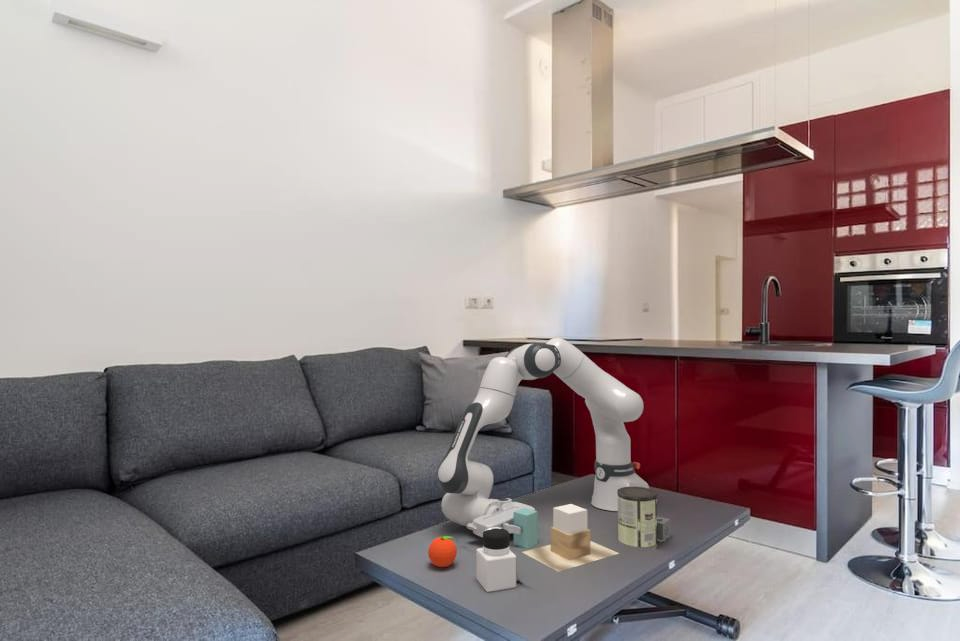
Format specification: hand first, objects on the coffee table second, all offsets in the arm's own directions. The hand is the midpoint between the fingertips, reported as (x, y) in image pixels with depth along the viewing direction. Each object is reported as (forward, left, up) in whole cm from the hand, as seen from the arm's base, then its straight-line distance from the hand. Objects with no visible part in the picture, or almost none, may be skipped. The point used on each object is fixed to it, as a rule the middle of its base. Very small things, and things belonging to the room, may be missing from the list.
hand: (528, 527), depth 149 cm
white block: (-6, +10, +2) cm, 12 cm away
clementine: (+23, -3, -6) cm, 24 cm away
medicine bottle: (+18, +12, -6) cm, 23 cm away
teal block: (0, -1, -5) cm, 5 cm away
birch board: (-6, +10, -6) cm, 13 cm away
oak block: (-6, +10, -4) cm, 12 cm away
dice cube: (-35, +13, -6) cm, 38 cm away
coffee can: (-27, +13, -6) cm, 30 cm away
